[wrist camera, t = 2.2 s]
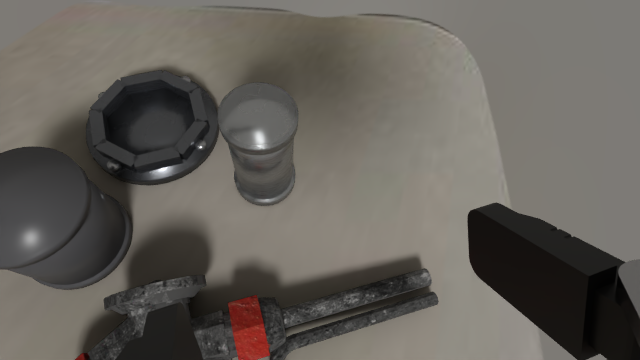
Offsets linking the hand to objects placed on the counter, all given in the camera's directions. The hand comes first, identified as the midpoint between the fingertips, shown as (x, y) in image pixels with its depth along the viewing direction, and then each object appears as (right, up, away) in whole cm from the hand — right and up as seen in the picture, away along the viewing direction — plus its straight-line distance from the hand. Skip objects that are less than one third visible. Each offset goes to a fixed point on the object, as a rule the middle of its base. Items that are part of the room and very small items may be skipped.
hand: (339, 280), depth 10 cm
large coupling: (-19, -2, +20) cm, 27 cm away
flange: (-15, +7, +24) cm, 30 cm away
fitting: (-5, +3, +23) cm, 24 cm away
